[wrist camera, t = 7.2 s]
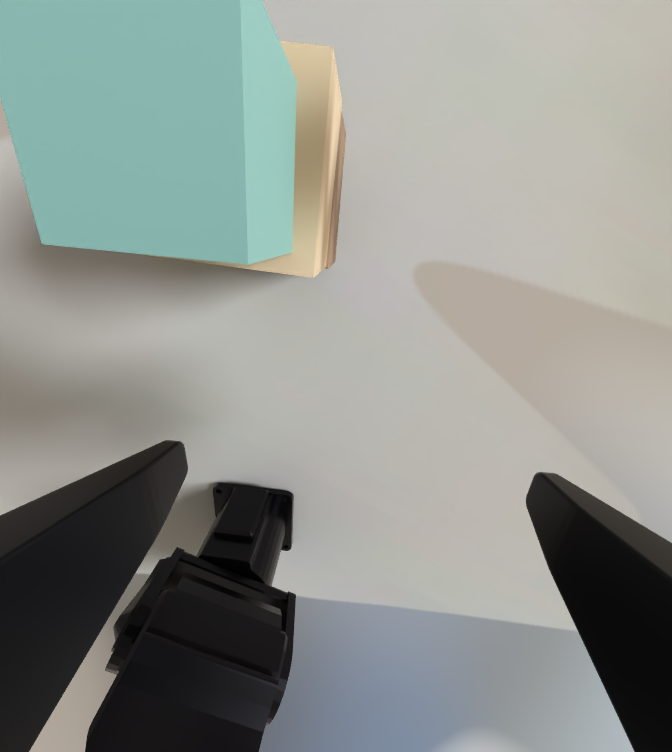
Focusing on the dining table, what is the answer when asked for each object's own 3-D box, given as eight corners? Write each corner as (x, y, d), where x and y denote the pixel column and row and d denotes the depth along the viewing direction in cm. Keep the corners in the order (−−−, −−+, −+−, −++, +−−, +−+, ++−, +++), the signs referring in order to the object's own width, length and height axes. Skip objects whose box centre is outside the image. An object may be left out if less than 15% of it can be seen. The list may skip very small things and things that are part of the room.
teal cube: (292, 252, 11) (248, 264, 7) (163, 240, 11) (41, 243, 7) (296, 80, 9) (239, -52, 5) (140, 68, 9) (-48, -70, 5)
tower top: (325, 266, 15) (313, 277, 11) (198, 249, 15) (144, 255, 11) (342, 103, 12) (333, 46, 8) (188, 84, 12) (115, 21, 9)
